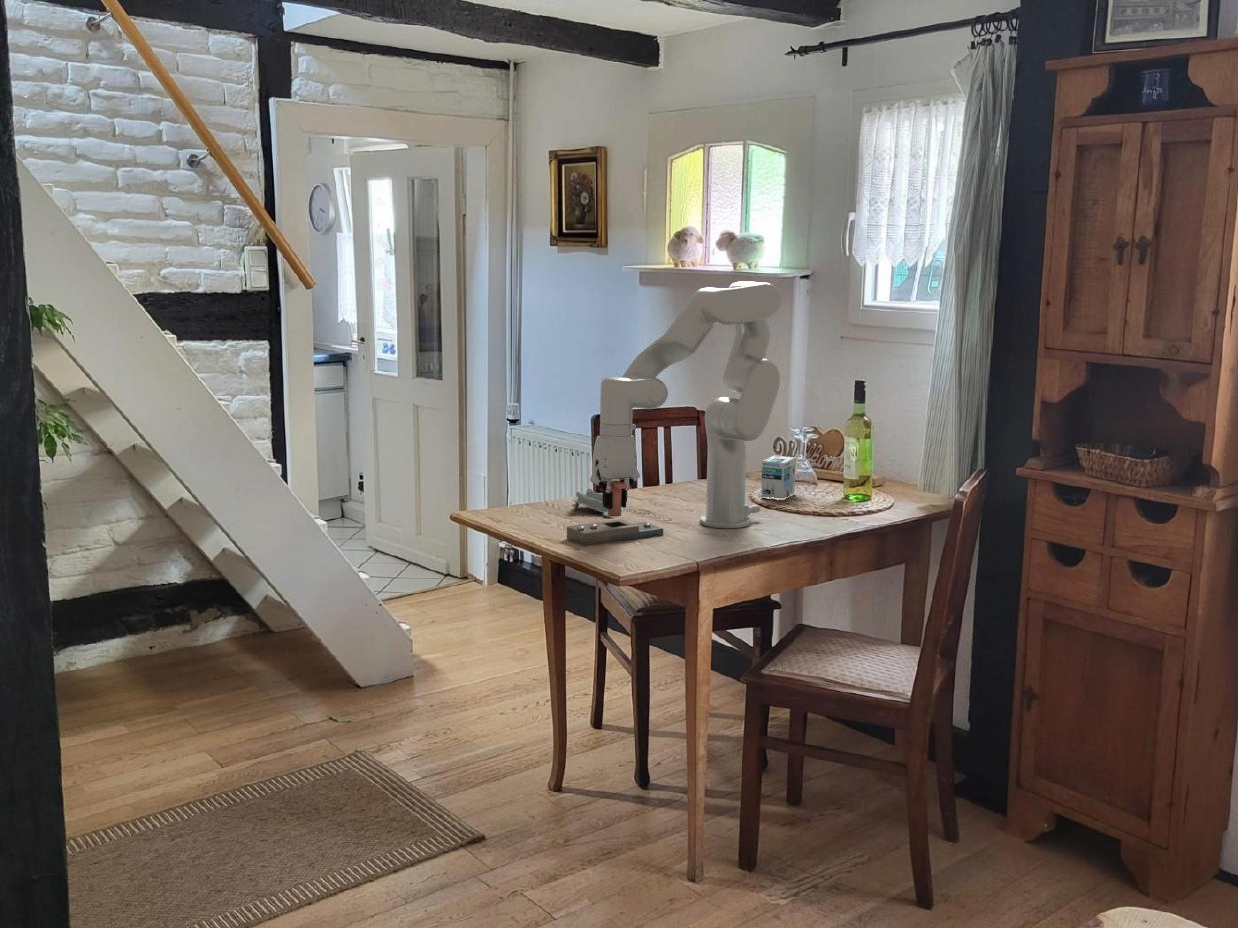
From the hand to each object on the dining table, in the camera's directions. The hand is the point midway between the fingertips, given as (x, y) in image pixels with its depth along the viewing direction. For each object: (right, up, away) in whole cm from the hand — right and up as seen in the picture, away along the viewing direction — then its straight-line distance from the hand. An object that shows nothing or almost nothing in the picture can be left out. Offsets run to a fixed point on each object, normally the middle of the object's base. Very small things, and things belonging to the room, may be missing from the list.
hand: (614, 506), depth 268 cm
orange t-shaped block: (0, -2, 0) cm, 2 cm away
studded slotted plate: (0, -7, +2) cm, 7 cm away
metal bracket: (-4, -3, +29) cm, 30 cm away
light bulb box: (+45, +1, +48) cm, 66 cm away
